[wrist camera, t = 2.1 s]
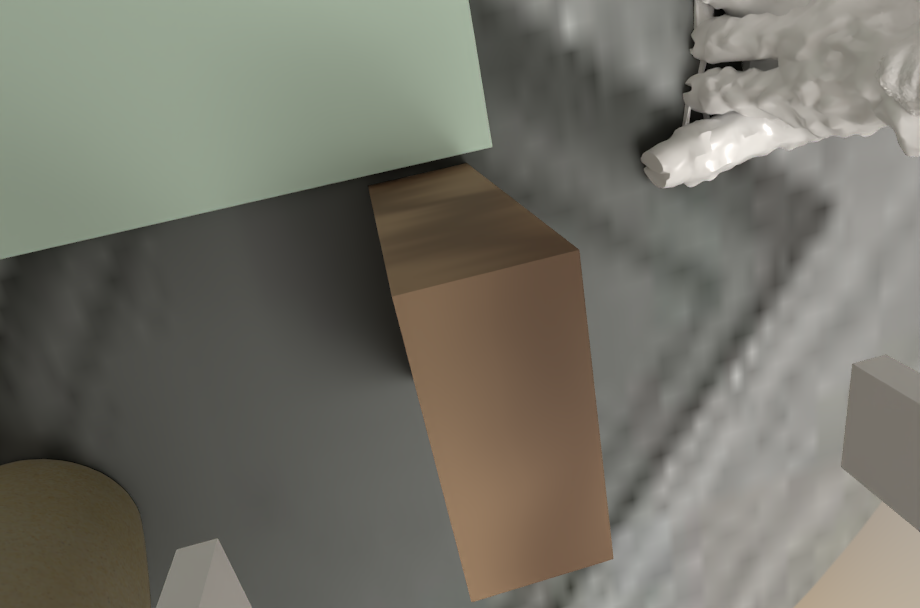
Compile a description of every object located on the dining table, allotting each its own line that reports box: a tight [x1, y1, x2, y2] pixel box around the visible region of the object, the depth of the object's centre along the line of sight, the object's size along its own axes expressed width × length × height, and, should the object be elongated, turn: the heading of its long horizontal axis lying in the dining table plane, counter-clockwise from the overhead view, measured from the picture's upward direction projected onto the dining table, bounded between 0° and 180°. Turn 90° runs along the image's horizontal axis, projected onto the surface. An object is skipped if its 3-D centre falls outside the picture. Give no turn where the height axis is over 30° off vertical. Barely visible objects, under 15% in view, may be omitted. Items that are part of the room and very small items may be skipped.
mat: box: [0, 0, 492, 259], centre depth 19 cm, size 20×12×1 cm, turn 101°
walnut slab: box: [368, 163, 613, 602], centre depth 19 cm, size 4×9×12 cm, turn 11°
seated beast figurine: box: [640, 0, 920, 188], centre depth 18 cm, size 10×9×12 cm
